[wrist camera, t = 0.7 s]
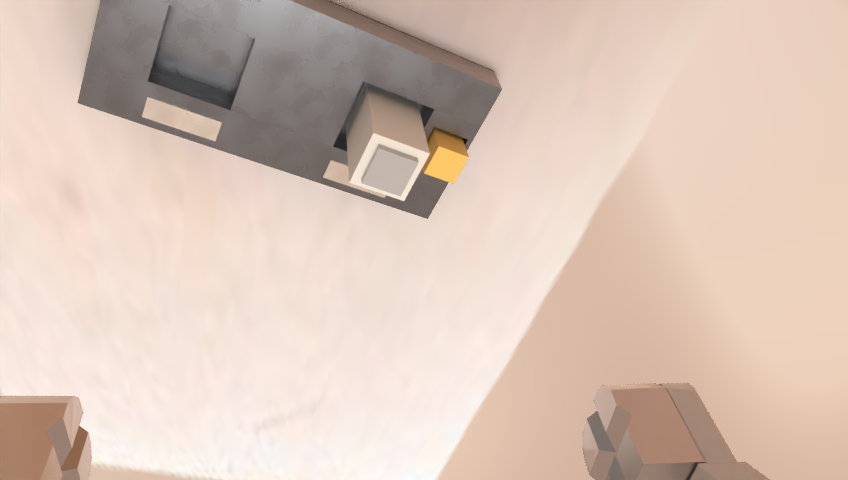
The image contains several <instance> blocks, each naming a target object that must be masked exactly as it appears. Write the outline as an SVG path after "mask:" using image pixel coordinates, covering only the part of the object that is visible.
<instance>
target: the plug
mask: <svg viewBox="0 0 848 480" xmlns="http://www.w3.org/2000/svg"><path fill="white" fill-rule="evenodd" d="M346 139H347V155H348V171H349V183H351V184H354V185H357V186H360V187H363V188H366V189H369V190H372V191H375V192H378V193H381V194H384V195H387V196H390V197H393V198H396V199H399V200H402V201H404V200H405V199H406V197H407V195H408V193H409V191H410V189H411V188H412V186H413V184H414V182H415V180H416V178H417V177H418V175H419V173H420V171H421V169H422V167H423V166H424V164H425V162H426V160H427V158H428V156H429V154H430V152H429V148H428V143H427V139H426V135H425V131H424V127H423V123H422V119H421V115H420V110H419V106H418V103H417V102H415V101H412V100H410V99H407V98H405V97H402V96H400V95H397V94H394V93H392V92H389V91H387V90H384V89H382V88H379V87H377V86H374V85H371V84H369V83H366V82H365V84H364V86H363V88H362V90H361V93H360V95H359V97H358V99H357V101H356V103H355V106H354V108H353V110H352V112H351V114H350V117H349V119H348V121H347V123H346Z"/></svg>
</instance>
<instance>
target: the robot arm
mask: <svg viewBox="0 0 848 480" xmlns="http://www.w3.org/2000/svg"><path fill="white" fill-rule="evenodd" d="M594 403H595V406H596V408H597V411H596V412H595V413H594V414H592V415H591V416H590V417H589V418H587V420H586V424H585V427H584V430H583V454H584V459H585V463H586V466H587V469H588V472H589V474H590V476H592V477H593V478H594V479H595V480H770V479H768V478H766V477H765V476H764V475H763V474H761V473H760V472H759V471H757V470H756V469H754V468H753V467H752V466H750V465H749V464H748V463H746V462H737V461H736V459H735V457H734V456H733V454H732V452H731V450H730V449H729V447H728V445H727V444H726V442H725V440H724V438H723V437H722V435H721V433H720V431H719V430H718V428H717V426H716V425H715V423H714V421H713V419H712V418H711V416H710V414H709V412H708V411H707V409H706V407H705V405H704V404H703V402H702V400H701V399H700V397H699V395H698V393H697V392H696V390H695V388H694V387H693V386H691V385H690V384H689V383H671V384H670V383H667V384H656V383H654V384H627V385H626V384H625V385H624V384H623V385H603V386H601V387H600V388H599V389H598V390H597V393H596V395H595V398H594ZM82 415H83V410H82V406H81V403H80V400H79V397H75V396H0V480H89V476H90V467H91V459H92V455H91V442H90V438H89V433H88V432H87V431H86V430H84V429H83V428H82V427H80V426H79V424H80V421H81V418H82Z"/></svg>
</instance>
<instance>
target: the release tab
mask: <svg viewBox="0 0 848 480" xmlns="http://www.w3.org/2000/svg"><path fill="white" fill-rule="evenodd" d="M427 143H428V148H429V152H430V154H429V156H428V158H427V160H426V162H425V164H424V166H423V171H424V174H427V175H430V176H433V177H436V178H438V179H441V180H444V181H447V182H450V183H452V184H454V182H455V180H456V179H457V177H458V175H459V173H460V172H461V170H462V168H463V166H464V165H465V163H466V161H467V160H468V158H469V156H468V153H467V150H466V147H465V144H464V141H463V138H462V137H460V136H457V135H455V134H452V133H449V132H447V131H444V130H442V129H439V128H436V127H434V128H433V130H432V132H431V134H430V135H429V137H428V139H427Z"/></svg>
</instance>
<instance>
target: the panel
mask: <svg viewBox="0 0 848 480" xmlns="http://www.w3.org/2000/svg"><path fill="white" fill-rule="evenodd" d="M365 82H366V83H369V84H371V85H374V86H377V87H379V88H382V89H384V90H387V91H389V92H392V93H394V94H397V95H400V96H402V97H405V98H407V99H410V100H412V101H415V102H417V103H418V106H419V110H420V115H421V119H422V123H423V127H424V131H425V135H426V139H428V137H429V135H430V134H431V132H432V130H433V128H434V127H436V128H439V129H442V130H444V131H447V132H449V133H452V134H455V135H457V136H460V137H462V138H463V141H464V144H465V147H466V150H467V149H468V148H469V146H470V144H471V142H472V141H473V139H474V137H475V136H476V134H477V132H478V130H479V129H480V127H481V125H482V123H483V122H484V120H485V118H486V116H487V115H488V113H489V111H490V109H491V108H492V106H493V104H494V102H495V101H496V99H497V97H498V95H499V94H500V92H501V90H502V88H501V85H500V83H499V81H498V79H497V77H496V75H495V73H494V71H492V70H490V69H487V68H485V67H483V66H480V65H478V64H476V63H473V62H471V61H468V60H466V59H464V58H461V57H459V56H457V55H454V54H452V53H450V52H447V51H445V50H443V49H440V48H438V47H436V46H433V45H431V44H429V43H426V42H424V41H422V40H419V39H417V38H415V37H412V36H410V35H408V34H405V33H403V32H401V31H398V30H396V29H394V28H391V27H389V26H387V25H384V24H382V23H379V22H377V21H375V20H372V19H370V18H368V17H365V16H363V15H361V14H358V13H356V12H354V11H351V10H349V9H347V8H344V7H342V6H340V5H337V4H335V3H333V2H330V1H328V0H101V2H100V6H99V11H98V15H97V20H96V24H95V28H94V33H93V37H92V42H91V46H90V51H89V55H88V59H87V64H86V68H85V73H84V77H83V82H82V86H81V90H80V95H79V99H78V103H79V104H82V105H85V106H88V107H91V108H94V109H97V110H100V111H104V112H107V113H110V114H113V115H116V116H119V117H122V118H125V119H128V120H131V121H134V122H137V123H140V124H143V125H146V126H149V127H152V128H155V129H158V130H161V131H164V132H167V133H170V134H173V135H176V136H179V137H182V138H185V139H188V140H191V141H194V142H197V143H200V144H203V145H206V146H209V147H212V148H215V149H218V150H221V151H224V152H227V153H230V154H233V155H236V156H240V157H243V158H246V159H249V160H252V161H255V162H258V163H261V164H264V165H267V166H270V167H273V168H276V169H279V170H282V171H285V172H288V173H291V174H294V175H297V176H300V177H303V178H306V179H309V180H312V181H315V182H318V183H321V184H324V185H327V186H330V187H333V188H336V189H339V190H342V191H345V192H348V193H351V194H354V195H357V196H360V197H363V198H366V199H369V200H372V201H376V202H379V203H382V204H385V205H388V206H391V207H394V208H397V209H400V210H403V211H406V212H409V213H412V214H415V215H418V216H421V217H424V218H427V219H428V217H429V216H430V214H431V212H432V210H433V209H434V207H435V205H436V203H437V202H438V200H439V198H440V196H441V195H442V193H443V191H444V189H445V188H446V186H447V184H448V183H449V182H447V181H444V180H441V179H438V178H436V177H433V176H430V175H427V174H424V171H423V167H422V169H421V171H420V173H419V175H418V177H417V178H416V180H415V182H414V184H413V186H412V188H411V189H410V191H409V193H408V195H407V197H406V199H405V200H404V201H402V200H399V199H396V198H393V197H390V196H387V195H384V194H381V193H378V192H375V191H372V190H369V189H366V188H363V187H360V186H357V185H354V184H351V183H349V171H348V155H347V139H346V123H347V121H348V119H349V117H350V114H351V112H352V110H353V108H354V106H355V103H356V101H357V99H358V97H359V95H360V93H361V90H362V88H363V86H364V84H365Z"/></svg>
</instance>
